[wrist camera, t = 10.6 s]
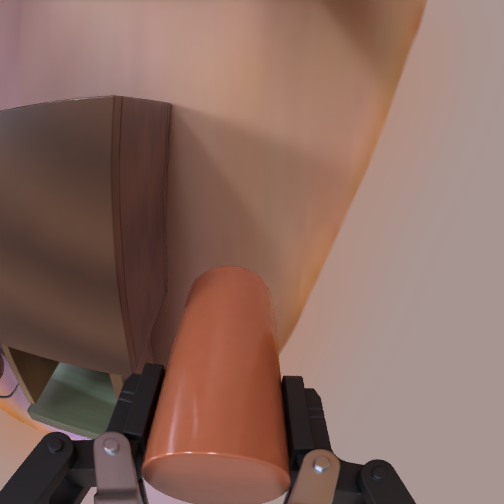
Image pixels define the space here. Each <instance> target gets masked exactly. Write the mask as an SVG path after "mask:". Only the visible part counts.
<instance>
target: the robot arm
mask: <svg viewBox="0 0 504 504" xmlns="http://www.w3.org/2000/svg"><path fill="white" fill-rule="evenodd" d="M164 374H165V369H164V365H158V364H151V363H146V364H145V365H144V368H143V371H142V374H136V373H132V374H131V375H130V376H129V377H128V378H127V379H126V380H125V381H124V384H123V387H122V389H121V393H120V395H119V397H118V401H117V403H116V405H115V408H114V411H113V413H112V416H111V419H110V422H109V425H108V427H107V430H106V431H105V432H104V433H102V434H100V435H99V436H98V437H97V438H96V439H93V440H71V439H70V437H69V436H67V435H66V434H64V433H61V432H51V433H49V434H47V435H46V436H44V437H43V439H42V440H41V441H40V442H39V444H38V445H37V446H36V447H35V448H34V450H33V451H32V452H31V453H30V455H29V456H28V457H27V458H26V460H25V461H24V462H23V463H22V465H21V466H20V467H19V468H18V469H17V471H16V472H15V473H14V475H13V476H12V477H11V478H10V480H9V481H8V482H7V484H6V485H5V486H4V488H3V489H2V490H1V491H0V504H80V503H81V502H82V500H83V499H84V497H85V496H86V494H87V493H88V491H89V490H90V488H91V487H97V493H96V494H95V495H94V504H149V502H148V498H147V494H146V489H145V484H144V479H143V476H142V473H141V464H142V460H143V455H144V451H145V447H146V443H147V439H148V435H149V431H150V427H151V423H152V419H153V415H154V411H155V407H156V404H157V400H158V396H159V392H160V389H161V385H162V381H163V378H164ZM282 392H283V401H284V410H285V420H286V429H287V439H288V449H289V459H290V469H291V479H292V483H291V485H290V488H289V489H288V491H287V493H286V496H285V499H284V502H283V504H416V503H415V501H414V500H413V498H412V497H411V495H410V493H409V492H408V490H407V489H406V487H405V485H404V484H403V482H402V481H401V479H400V477H399V476H398V474H397V473H396V471H395V470H394V468H393V467H392V466H391V464H389V463H388V462H386V461H384V460H372V461H369V462H368V463H366V464H365V465H360V464H355V463H349V462H345V461H343V460H341V459H339V458H338V457H337V456H336V455H335V454H334V453H333V451H332V449H331V445H330V441H329V435H328V431H327V426H326V421H325V418H324V412H323V410H322V409H323V407H322V402H321V398H320V396H319V395H318V394H317V392H316V391H315V390H314V389H313V388H312V389H310V388H304V383H303V378H302V377H301V376H283V379H282Z"/></svg>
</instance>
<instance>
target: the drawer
mask: <svg viewBox="0 0 504 504" xmlns="http://www.w3.org/2000/svg"><path fill="white" fill-rule="evenodd" d="M1 346H2V349H3V351H4V353H5V356H6V358H7V360H8V362H9V365H10V367H11V369H12V371H13V373H14V375H15V377H16V379H17V381H18V383H19V385H20V387H21V389H22V391H23V393H24V395H25V396H26V398H27V400H28V402H30V403H31V405H30V407H29V409H28V410H27V412H28V413H29V415H30V417H31V418H32V419H34V420H36V421H39V422H41V423H44V424H47V425H50V426H53V427H55V428H58V429H61V430H64V431H67V432H71V433H74V434H77V435H80V436H84V437H87V438H91V439H96V438H97V437H98V436H99V435H100V434H102V433H104V432H105V431H106V430H107V427H108V425H109V422H110V419H111V416H112V413H113V411H114V408H115V405H116V403H117V401H118V397H119V395H120V393H121V389H122V387H123V384H124V381H125V380H126V379H127V378H128V377H125V376H120V375H115V374H110V373H105V372H100V371H96V370H91V369H87V368H82V367H78V366H74V365H70V364H66V363H62V362H58V361H55V360H51V359H47V358H44V357H40V356H37V355H34V354H30V353H27V352H24V351H21V350H17V349H14V348H11V347H8V346H5V345H2V344H1ZM146 363H151V364H154V363H153V355H152V347H151V338H150V336H149V338H148V341H147V343H146V346H145V349H144V351H143V354H142V357H141V359H140V362H139V365H138V367H137V370H136V372H135V373H136V374H142V371H143V368H144V365H145V364H146Z"/></svg>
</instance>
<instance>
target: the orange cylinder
mask: <svg viewBox="0 0 504 504" xmlns="http://www.w3.org/2000/svg"><path fill="white" fill-rule="evenodd" d="M141 473H142V476H143V478H144V479H145V481H146V482H147V483H149V484H150V485H151V486H152V487H154V488H155V489H156V490H158V491H160V492H162V493H164V494H166V495H168V496H170V497H173V498H176V499H179V500H182V501H185V502H189V503H193V504H261V503H265V502H268V501H271V500H274V499H276V498H278V497H280V496H281V495H283V494H284V493H285V492H287V491H288V489H289V488H290V485H291V483H292V479H291V469H290V459H289V449H288V439H287V429H286V420H285V410H284V401H283V392H282V383H281V375H280V365H279V356H278V347H277V338H276V330H275V321H274V312H273V304H272V297H271V293H270V291H269V288H268V287H267V285H266V284H265V282H264V281H263V280H262V279H261V278H260V277H259V276H257V275H256V274H255V273H253V272H251V271H249V270H246V269H244V268H240V267H235V266H221V267H216V268H213V269H210V270H208V271H206V272H204V273H203V274H201V275H200V276H199V277H198V278H197V279H196V280H195V281H194V282H193V284H192V285H191V287H190V290H189V292H188V296H187V299H186V302H185V305H184V309H183V312H182V315H181V319H180V322H179V325H178V329H177V332H176V335H175V339H174V342H173V346H172V349H171V353H170V356H169V360H168V363H167V367H166V370H165V374H164V378H163V381H162V385H161V389H160V392H159V396H158V400H157V404H156V407H155V411H154V415H153V419H152V423H151V427H150V431H149V435H148V439H147V443H146V447H145V451H144V455H143V460H142V464H141Z"/></svg>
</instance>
